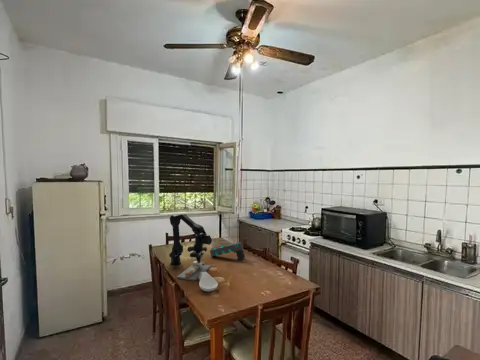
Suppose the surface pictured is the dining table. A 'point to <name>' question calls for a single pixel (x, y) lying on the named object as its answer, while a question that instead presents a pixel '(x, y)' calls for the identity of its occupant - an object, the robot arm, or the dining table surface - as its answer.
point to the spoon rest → (207, 282)
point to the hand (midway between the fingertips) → (198, 263)
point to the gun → (229, 250)
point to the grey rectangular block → (197, 264)
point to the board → (195, 274)
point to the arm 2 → (192, 270)
